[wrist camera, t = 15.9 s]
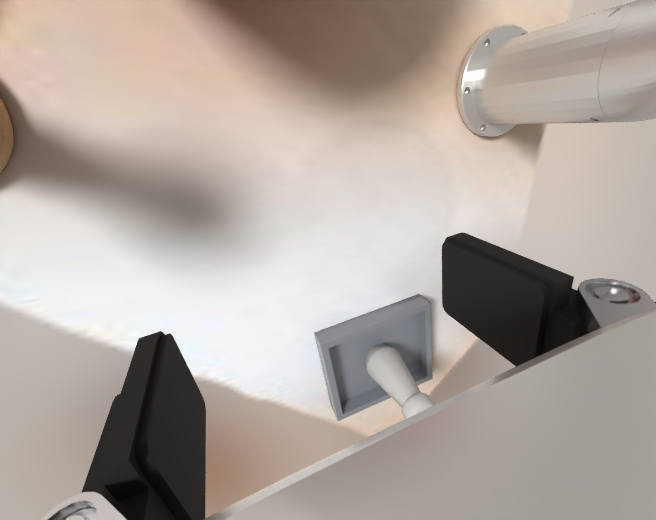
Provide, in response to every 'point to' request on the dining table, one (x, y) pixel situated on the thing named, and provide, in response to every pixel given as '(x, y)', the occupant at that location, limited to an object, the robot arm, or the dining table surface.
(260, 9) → the dining table surface
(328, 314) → the dining table surface
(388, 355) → the salt shaker
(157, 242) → the dining table surface
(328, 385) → the tray
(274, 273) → the dining table surface
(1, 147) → the candle holder
